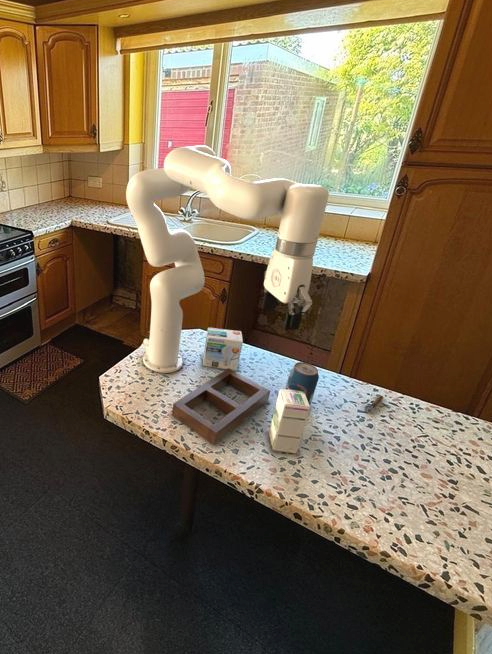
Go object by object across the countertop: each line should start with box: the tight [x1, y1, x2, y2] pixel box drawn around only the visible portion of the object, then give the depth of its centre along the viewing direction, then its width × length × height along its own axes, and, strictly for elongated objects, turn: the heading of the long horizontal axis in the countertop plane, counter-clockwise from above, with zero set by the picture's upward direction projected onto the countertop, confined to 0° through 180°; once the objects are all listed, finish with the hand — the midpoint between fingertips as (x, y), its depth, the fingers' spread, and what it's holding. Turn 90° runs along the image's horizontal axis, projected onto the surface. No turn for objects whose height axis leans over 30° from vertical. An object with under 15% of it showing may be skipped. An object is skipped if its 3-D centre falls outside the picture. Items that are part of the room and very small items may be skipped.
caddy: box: [171, 368, 271, 446], centre depth 108 cm, size 14×25×4 cm, turn 129°
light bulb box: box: [202, 327, 244, 372], centre depth 126 cm, size 11×7×11 cm, turn 76°
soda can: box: [284, 361, 320, 407], centre depth 108 cm, size 7×7×12 cm
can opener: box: [364, 395, 384, 412], centre depth 110 cm, size 9×2×1 cm, turn 123°
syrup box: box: [268, 388, 311, 454], centre depth 95 cm, size 6×6×14 cm
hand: (279, 318), depth 91 cm, fingers open, 9 cm apart
